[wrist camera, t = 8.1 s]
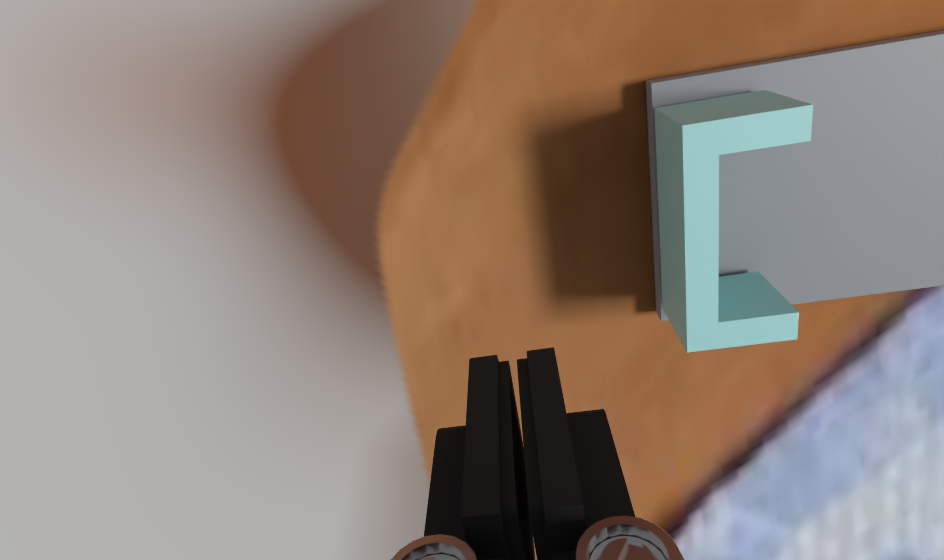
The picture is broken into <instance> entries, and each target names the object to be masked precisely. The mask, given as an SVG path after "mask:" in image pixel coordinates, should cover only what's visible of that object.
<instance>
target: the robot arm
mask: <svg viewBox="0 0 944 560" xmlns="http://www.w3.org/2000/svg"><path fill="white" fill-rule="evenodd" d="M517 368H518V380H519V393H520V406H521V419H522V431H523V442H522V436H521V430H520V424H519V418H518V412H517V406H516V400H515V395H514V389H513V383H512V377H511V371H510V365H509V361H502V362H499V361H498V357H497V355H492V356H484V357H477V358H470V361H469V378H468V396H467V414H466V426H457V427H449V428H441V429H438V431H437V434H436V441H435V449H434V457H433V466H432V474H431V482H430V490H429V498H428V507H427V515H426V524H425V531H424V537H422V538H419V539H417V540H414V541H412V542H411V543H409V544H408V545H406V546H404V547H403V548H401V549H400V550H399V551H398V552H397V553H396V555H395V556H394V557H393V558H392V559H391V560H535V553H534V543H535V549H536V554H537V560H684V558H683V556H682V554H681V553H680V551H679V549H678V547H677V545H676V544H675V542H674V541H673V540H672V538H671V537H670V536H669V535H668V533H667V532H665V531H664V530H663V529H661V528H660V527H659V526H657V525H656V524H654V523H652V522H649V521H647V520H644V519H642V518H638V517H635V514H634V511H633V507H632V504H631V500H630V497H629V493H628V490H627V486H626V483H625V479H624V476H623V472H622V469H621V465H620V462H619V458H618V455H617V451H616V448H615V444H614V441H613V437H612V434H611V430H610V427H609V423H608V420H607V416H606V413H605V411H604V409H600V410H591V411H583V412H574V413H566V409H565V404H564V399H563V393H562V388H561V383H560V378H559V372H558V367H557V362H556V356H555V351H554V347H553V348H546V349H538V350H530V351H527V358H526V359H518V360H517ZM523 444H524V448H523ZM533 537H534V541H533Z"/></svg>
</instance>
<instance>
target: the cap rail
mask: <svg viewBox="0 0 944 560" xmlns="http://www.w3.org/2000/svg"><path fill="white" fill-rule="evenodd" d="M761 90H767V91H770V92H774V93H777V94H780V95H783V96H787V97H790V98H793V99H797V100H800V101H803V102H806V103H810V104H813V116H812V130H811V141H807V142H801V143H794V144H788V145H781V146H775V147H768V148H762V149H755V150H749V151H742V152H736V153H729V154H723V155H719V277H721V276H728V275H736V274H743V273H751V272H759V273H760V274H761V275H762V276H763V277H764V278H765V279H766V280H767V281H768V282H769V283H770V284H771V285H772V286H773V287H774V288H775V289H776V290H777V291H778V292H779V293H780V294H781V295H782V296H783V297H784V298H785V299H786V300H787V301H788V302H789V303H790V304H791V305H792V304H800V303H808V302H816V301H824V300H831V299H839V298H847V297H855V296H863V295H871V294H879V293H887V292H895V291H902V290H910V289H918V288H926V287H934V286H942V285H944V30H941V31H935V32H930V33H924V34H918V35H912V36H906V37H900V38H894V39H888V40H882V41H877V42H871V43H865V44H859V45H853V46H847V47H841V48H835V49H829V50H823V51H818V52H812V53H806V54H800V55H794V56H788V57H782V58H776V59H770V60H765V61H759V62H753V63H747V64H741V65H735V66H729V67H723V68H717V69H712V70H706V71H700V72H694V73H688V74H682V75H676V76H670V77H664V78H659V79H653V80H647V81H646V97H647V119H648V141H649V163H650V185H651V207H652V229H653V251H654V273H655V295H656V312H657V314H658V316H659V318H660V320H661V321H666V320H669V319H668V317H667V315H666V313H665V311H664V310H663V306H662V281H661V256H660V231H659V207H658V182H657V157H656V132H655V108H658V107H664V106H670V105H676V104H682V103H688V102H694V101H700V100H706V99H712V98H718V97H724V96H730V95H736V94H743V93H749V92H755V91H761Z"/></svg>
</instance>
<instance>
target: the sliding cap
mask: <svg viewBox="0 0 944 560" xmlns="http://www.w3.org/2000/svg"><path fill="white" fill-rule="evenodd" d="M812 116H813V104H810V103H806V102H803V101H800V100H797V99H793V98H790V97H787V96H783V95H780V94H777V93H774V92H770V91H767V90H761V91H755V92H749V93H743V94H736V95H730V96H724V97H718V98H712V99H706V100H700V101H694V102H688V103H682V104H676V105H670V106H664V107H658V108H655V132H656V157H657V182H658V207H659V231H660V256H661V281H662V306H663V310H664V311H665V313H666V315H667V317H668V319H669V320H670V322H671V324H672V326H673V328H674V329H675V331H676V333H677V335H678V337H679V338H680V340H681V342H682V344H683V346H684V347H685V349H686V351H687V352H695V351H704V350H712V349H720V348H728V347H737V346H745V345H753V344H761V343H770V342H778V341H786V340H795V339H797V335H798V320H799V312H798V311H797V310H796V309H795V308H794V307H793V306H792V305H791V304H790V303H789V302H788V301H787V300H786V299H785V298H784V297H783V296H782V295H781V294H780V293H779V292H778V291H777V290H776V289H775V288H774V287H773V286H772V285H771V284H770V283H769V282H768V281H767V280H766V279H765V278H764V277H763V276H762V275H761V274H760V273H759V272H751V273H743V274H736V275H728V276H721V277H719V155H723V154H729V153H736V152H742V151H749V150H755V149H762V148H768V147H775V146H781V145H788V144H794V143H801V142H807V141H811V130H812Z"/></svg>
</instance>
